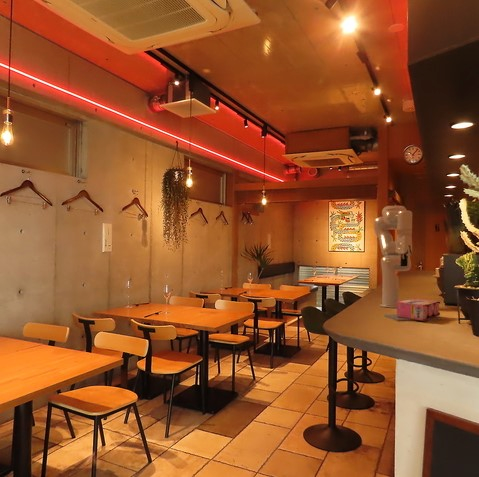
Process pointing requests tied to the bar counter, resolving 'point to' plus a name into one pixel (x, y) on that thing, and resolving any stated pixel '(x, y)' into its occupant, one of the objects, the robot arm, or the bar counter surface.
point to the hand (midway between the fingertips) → (403, 266)
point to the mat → (410, 319)
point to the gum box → (418, 309)
